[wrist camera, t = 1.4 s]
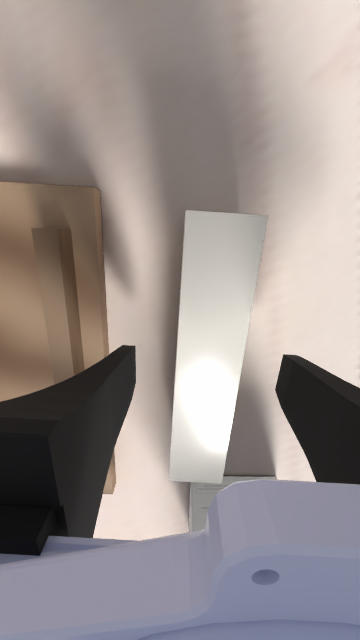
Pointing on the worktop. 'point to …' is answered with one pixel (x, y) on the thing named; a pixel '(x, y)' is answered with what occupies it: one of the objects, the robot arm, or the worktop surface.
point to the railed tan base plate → (50, 288)
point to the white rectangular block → (212, 337)
